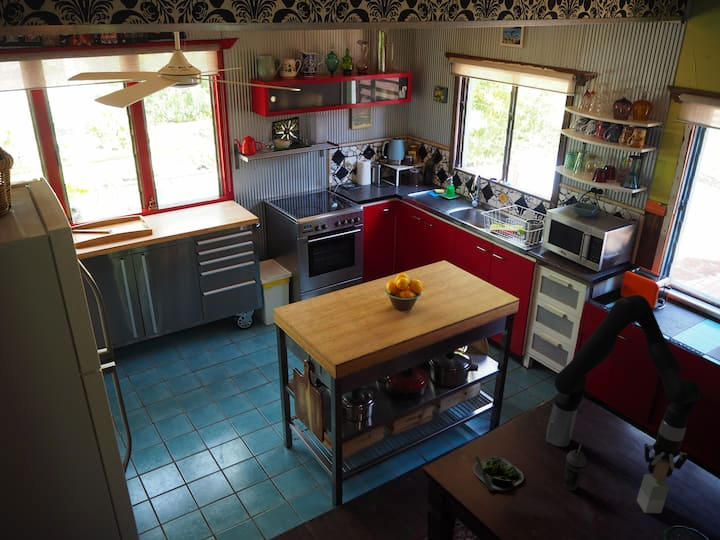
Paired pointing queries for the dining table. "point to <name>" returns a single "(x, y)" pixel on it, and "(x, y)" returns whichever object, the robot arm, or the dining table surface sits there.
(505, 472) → the salad plate
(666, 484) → the mid block
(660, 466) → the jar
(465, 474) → the dining table surface
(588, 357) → the robot arm
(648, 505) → the base block
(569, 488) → the beverage cup
